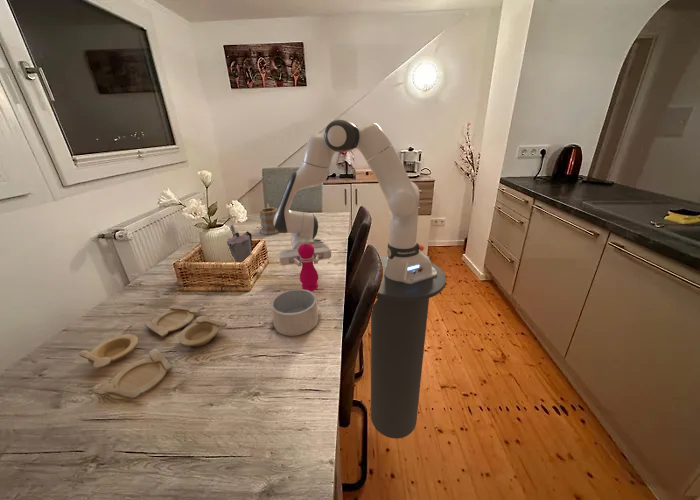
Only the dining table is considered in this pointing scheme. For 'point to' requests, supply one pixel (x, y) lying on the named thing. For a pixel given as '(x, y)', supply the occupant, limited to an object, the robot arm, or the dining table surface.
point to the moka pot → (240, 246)
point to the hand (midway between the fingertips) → (307, 263)
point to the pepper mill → (308, 267)
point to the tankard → (268, 220)
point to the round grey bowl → (294, 312)
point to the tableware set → (154, 368)
